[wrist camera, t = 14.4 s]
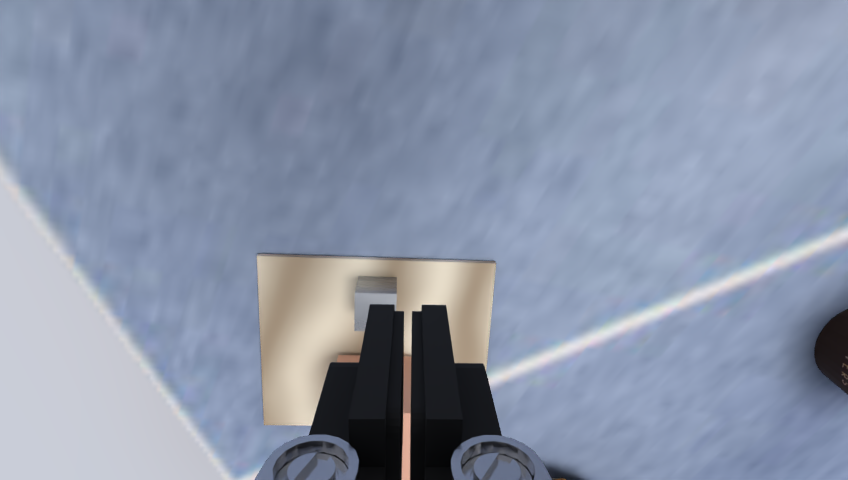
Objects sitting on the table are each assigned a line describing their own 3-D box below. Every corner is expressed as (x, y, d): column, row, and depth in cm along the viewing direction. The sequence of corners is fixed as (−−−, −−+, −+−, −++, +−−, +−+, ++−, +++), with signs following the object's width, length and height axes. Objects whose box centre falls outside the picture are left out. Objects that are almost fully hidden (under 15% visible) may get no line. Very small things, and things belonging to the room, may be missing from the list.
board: (494, 261, 35) (496, 263, 35) (479, 423, 39) (480, 427, 38) (258, 253, 34) (256, 255, 34) (265, 420, 38) (264, 424, 37)
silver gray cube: (396, 277, 35) (396, 293, 32) (395, 312, 35) (395, 332, 33) (358, 276, 35) (354, 292, 32) (357, 311, 35) (354, 330, 32)
